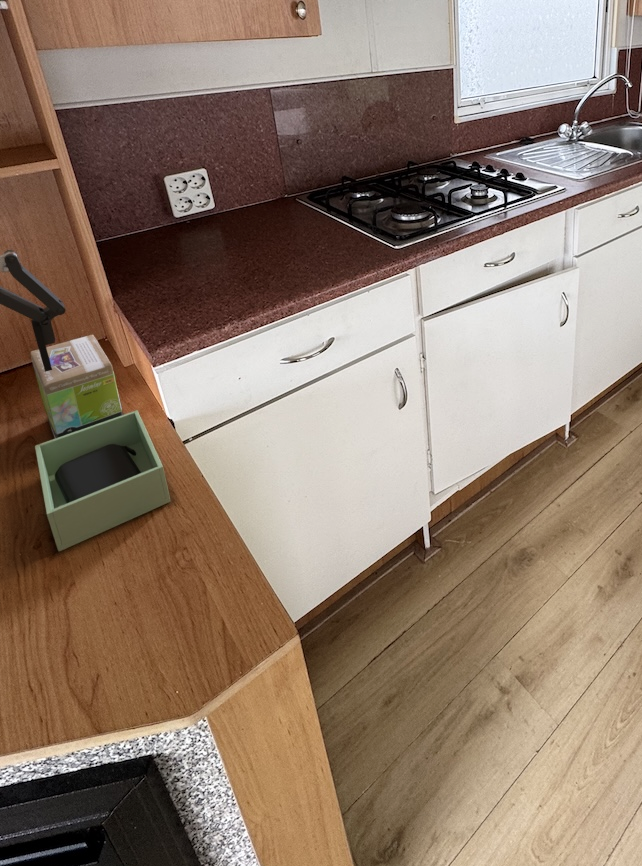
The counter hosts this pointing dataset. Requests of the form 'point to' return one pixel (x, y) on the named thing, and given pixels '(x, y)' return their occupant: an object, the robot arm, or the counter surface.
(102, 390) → the tea box
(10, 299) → the robot arm
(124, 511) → the storage bin
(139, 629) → the counter surface
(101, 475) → the carrying case
